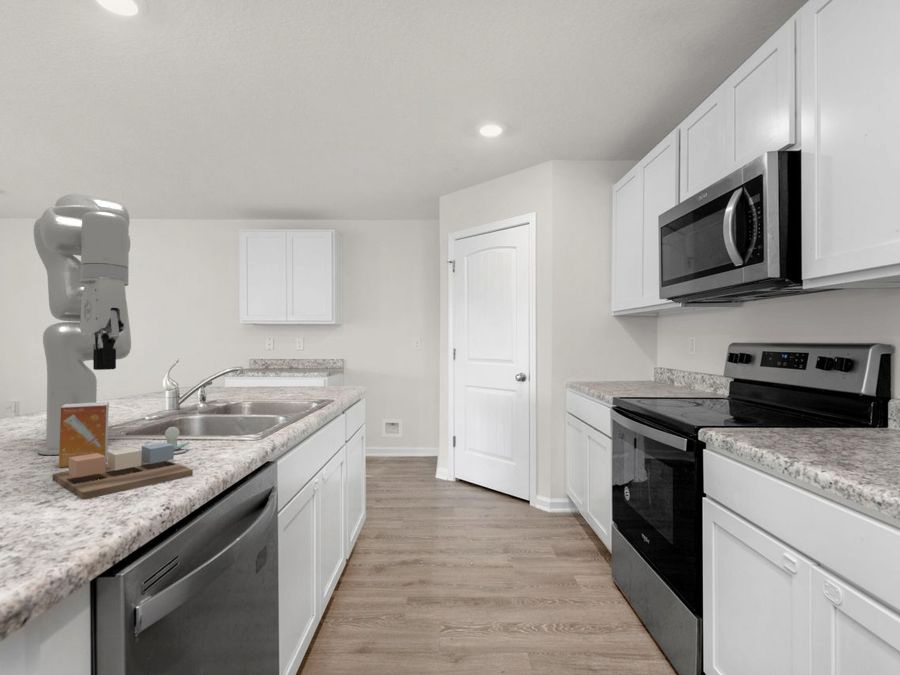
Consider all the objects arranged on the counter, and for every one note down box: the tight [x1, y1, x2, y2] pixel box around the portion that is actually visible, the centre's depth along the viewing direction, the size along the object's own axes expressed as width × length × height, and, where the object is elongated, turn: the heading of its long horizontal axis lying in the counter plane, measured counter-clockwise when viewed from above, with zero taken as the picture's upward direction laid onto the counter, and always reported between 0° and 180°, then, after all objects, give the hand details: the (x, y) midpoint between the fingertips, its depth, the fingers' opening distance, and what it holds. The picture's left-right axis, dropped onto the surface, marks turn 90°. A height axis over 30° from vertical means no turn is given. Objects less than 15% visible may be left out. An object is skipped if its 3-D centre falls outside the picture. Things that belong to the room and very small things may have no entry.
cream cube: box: [106, 447, 142, 470], centre depth 91 cm, size 4×4×3 cm
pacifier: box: [164, 426, 190, 455], centre depth 111 cm, size 7×6×6 cm
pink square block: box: [68, 453, 107, 478], centre depth 86 cm, size 4×4×3 cm
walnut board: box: [51, 460, 194, 500], centre depth 91 cm, size 18×18×1 cm
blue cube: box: [141, 441, 175, 464], centre depth 96 cm, size 4×4×3 cm
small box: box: [58, 401, 110, 468], centre depth 102 cm, size 8×6×13 cm
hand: (104, 369), depth 89 cm, fingers closed
